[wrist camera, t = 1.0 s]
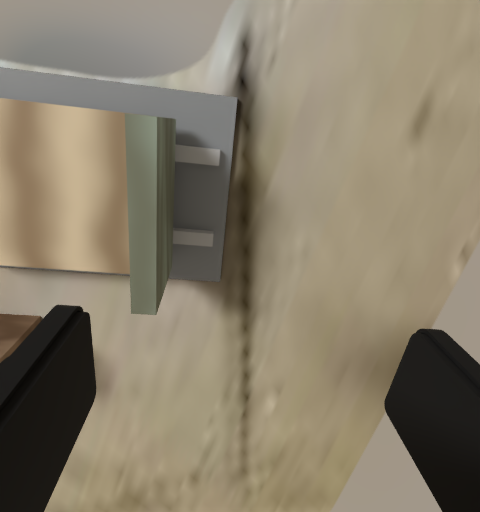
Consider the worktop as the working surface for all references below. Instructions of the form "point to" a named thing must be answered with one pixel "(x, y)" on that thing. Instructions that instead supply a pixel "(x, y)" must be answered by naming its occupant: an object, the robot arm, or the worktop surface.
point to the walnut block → (15, 331)
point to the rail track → (186, 154)
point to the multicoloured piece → (88, 193)
